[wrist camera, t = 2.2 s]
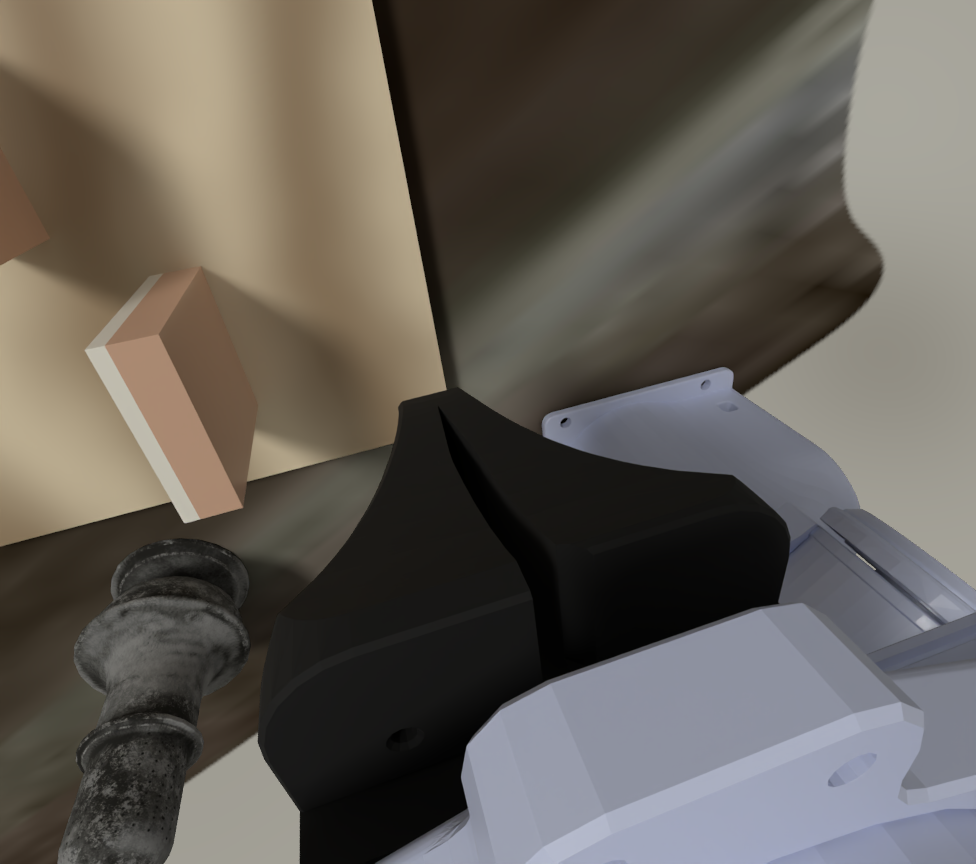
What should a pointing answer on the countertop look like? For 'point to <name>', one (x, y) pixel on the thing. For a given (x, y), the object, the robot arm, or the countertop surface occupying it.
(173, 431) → the cream tile
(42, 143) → the maple board
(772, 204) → the countertop surface
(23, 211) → the tan piece
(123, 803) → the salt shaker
